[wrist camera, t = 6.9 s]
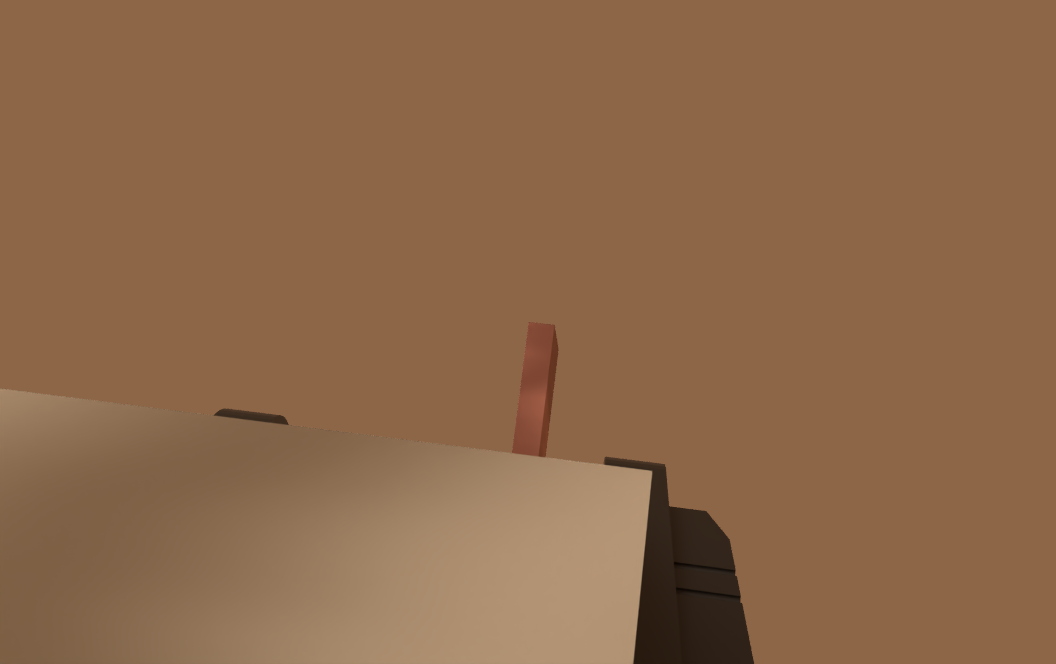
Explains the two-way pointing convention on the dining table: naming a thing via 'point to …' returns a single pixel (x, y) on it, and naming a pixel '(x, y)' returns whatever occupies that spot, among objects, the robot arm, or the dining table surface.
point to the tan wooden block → (309, 540)
